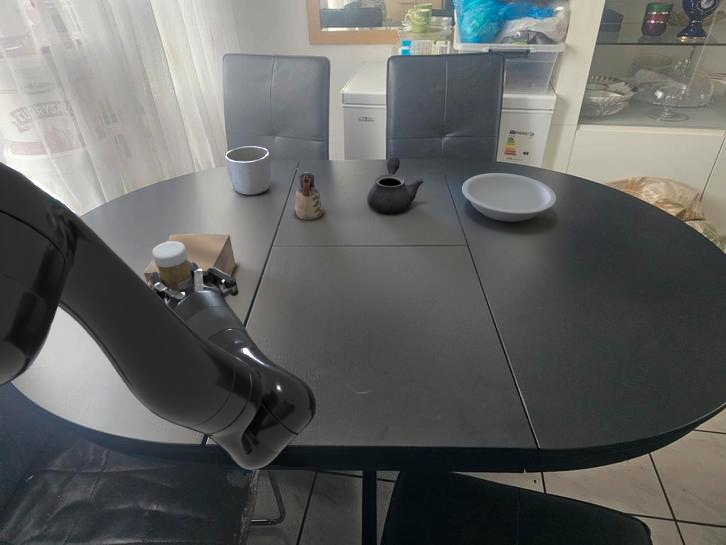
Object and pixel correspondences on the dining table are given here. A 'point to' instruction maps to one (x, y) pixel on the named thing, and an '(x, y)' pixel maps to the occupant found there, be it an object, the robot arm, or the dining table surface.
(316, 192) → the figurine
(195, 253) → the cabinet
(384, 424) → the dining table surface
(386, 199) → the teapot
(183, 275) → the sprinkles bottle
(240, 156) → the planter
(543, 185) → the soup bowl
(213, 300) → the robot arm
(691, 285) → the dining table surface
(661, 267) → the dining table surface
